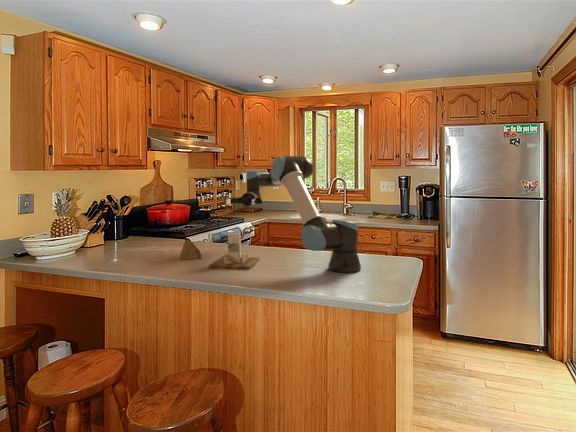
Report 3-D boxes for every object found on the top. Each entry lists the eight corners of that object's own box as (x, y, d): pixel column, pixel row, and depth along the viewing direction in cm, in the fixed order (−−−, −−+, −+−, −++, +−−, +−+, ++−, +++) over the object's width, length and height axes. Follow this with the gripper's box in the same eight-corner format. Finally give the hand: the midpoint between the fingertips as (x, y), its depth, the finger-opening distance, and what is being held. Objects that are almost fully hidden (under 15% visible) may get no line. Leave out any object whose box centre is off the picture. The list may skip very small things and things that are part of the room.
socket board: (259, 260, 225) (259, 251, 224) (250, 269, 205) (249, 260, 204) (221, 259, 228) (221, 250, 227) (209, 268, 208) (208, 259, 208)
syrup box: (241, 259, 219) (240, 231, 217) (240, 262, 213) (239, 233, 212) (230, 260, 219) (229, 231, 218) (228, 262, 213) (227, 233, 212)
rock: (206, 252, 234) (189, 249, 237) (202, 241, 228) (185, 238, 231) (197, 268, 227) (180, 264, 229) (193, 257, 221) (175, 253, 223)
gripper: (271, 206, 242) (263, 210, 221) (227, 205, 246) (215, 209, 225) (271, 192, 241) (263, 195, 220) (227, 192, 245) (215, 194, 224)
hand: (239, 202), depth 222 cm, fingers open, 13 cm apart
